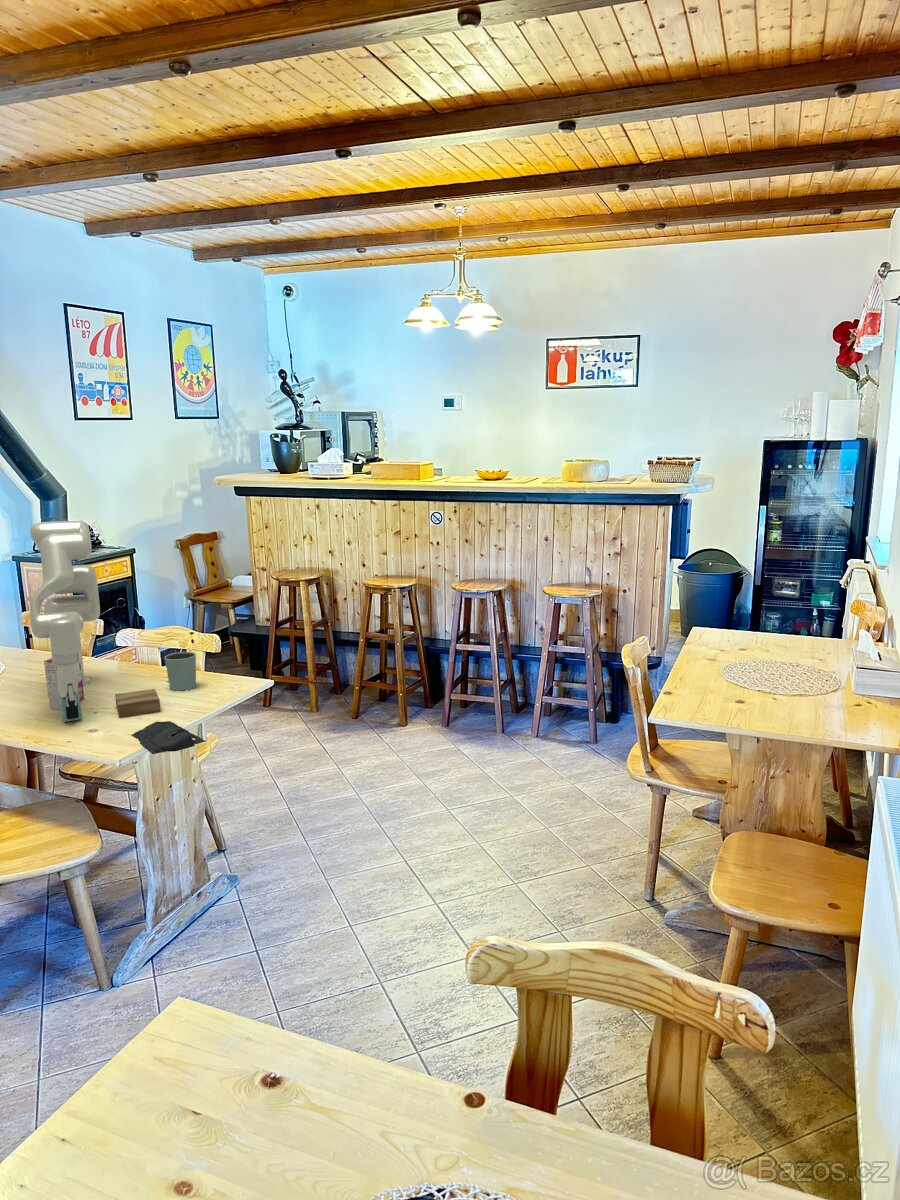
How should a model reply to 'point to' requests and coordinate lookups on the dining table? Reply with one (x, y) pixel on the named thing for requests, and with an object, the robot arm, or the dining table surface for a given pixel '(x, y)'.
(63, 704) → the teal block
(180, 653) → the grey green cup
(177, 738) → the dark slate chunk
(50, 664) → the candy bar box
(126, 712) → the walnut block
